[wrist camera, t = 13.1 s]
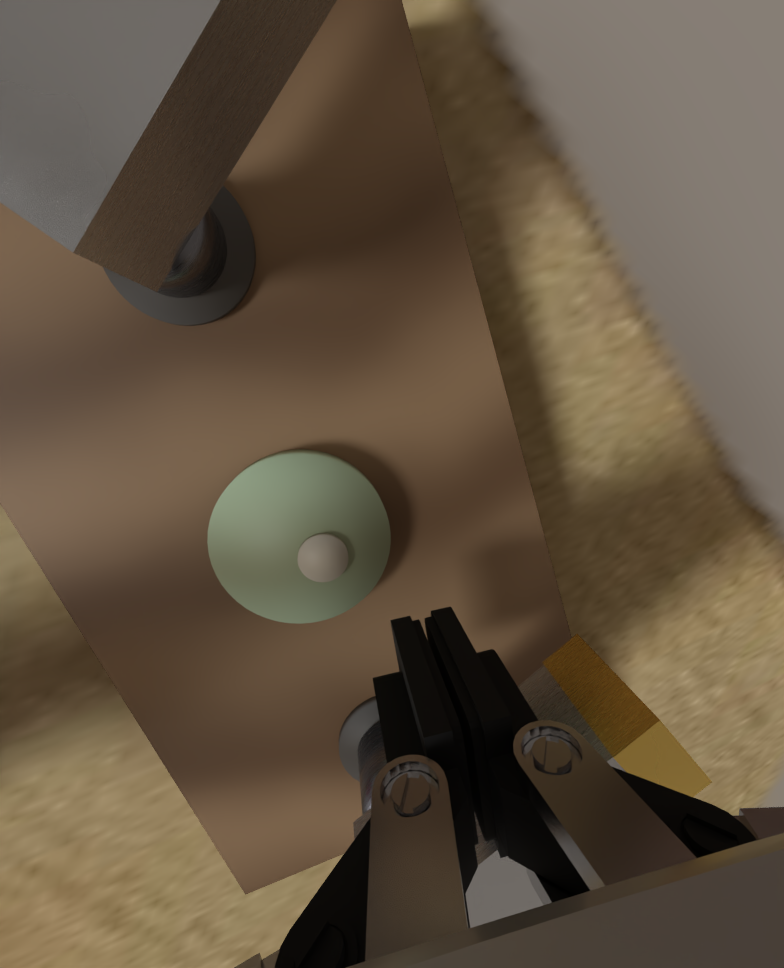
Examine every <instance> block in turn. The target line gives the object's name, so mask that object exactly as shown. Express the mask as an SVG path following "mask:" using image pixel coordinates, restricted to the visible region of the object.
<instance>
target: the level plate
mask: <svg viewBox="0 0 784 968" xmlns="http://www.w3.org/2000/svg"><path fill="white" fill-rule="evenodd" d="M210 207H211V209H212V210H213V212H214V213H215V214H216V216H217V218H218V219H219V221H220V223H221V225H222V228H223V230H224V234H225V237H226V243H227V257H226V262H225V266H224V269H223V272H222V273H221V275H220V277H219V278H218V280H217V281H216V283H215V284H214V285H213V286H212V287H210V288H209V289H208V290H206V291H205V292H203V293H201V294H199V295H196V296H192V297H187V298H174V297H169V296H165V295H162V294H159V293H157V292H155V291H153V290H151V289H149V288H147V287H145V286H142V285H140V284H138V283H136V282H134V281H132V280H130V279H127V278H125V277H123V276H121V275H119V274H117V273H115V272H113V271H110V270H108V269H106V268H104V267H102V266H100V265H98V264H96V263H94V262H92V261H90V260H88V259H85V258H83V257H81V256H79V255H77V254H75V253H73V252H71V251H70V250H68V249H67V248H65V247H64V246H63V245H61V244H60V243H58V242H57V241H55V240H54V239H52V238H51V237H50V236H48V235H47V234H45V233H44V232H42V231H41V230H39V229H38V228H37V227H35V226H34V225H32V224H31V223H29V222H28V221H26V220H25V219H23V218H22V217H21V216H19V215H18V214H16V213H15V212H13V211H12V210H10V209H9V208H8V207H6V206H5V205H3V204H2V203H0V504H1V506H2V507H3V509H4V510H5V512H6V513H7V515H8V517H9V518H10V520H11V521H12V523H13V525H14V526H15V528H16V529H17V531H18V533H19V534H20V536H21V537H22V539H23V541H24V542H25V544H26V545H27V547H28V549H29V550H30V552H31V553H32V555H33V557H34V558H35V560H36V561H37V563H38V564H39V566H40V568H41V569H42V571H43V572H44V574H45V576H46V577H47V579H48V580H49V582H50V584H51V585H52V587H53V588H54V590H55V592H56V593H57V595H58V596H59V598H60V600H61V601H62V603H63V604H64V606H65V608H66V609H67V611H68V612H69V614H70V615H71V617H72V619H73V620H74V622H75V623H76V625H77V627H78V628H79V630H80V631H81V633H82V635H83V636H84V638H85V639H86V641H87V643H88V644H89V646H90V647H91V649H92V651H93V652H94V654H95V655H96V657H97V659H98V660H99V662H100V663H101V665H102V666H103V668H104V670H105V671H106V673H107V674H108V676H109V678H110V679H111V681H112V682H113V684H114V686H115V687H116V689H117V690H118V692H119V694H120V695H121V697H122V698H123V700H124V702H125V703H126V705H127V706H128V708H129V709H130V711H131V713H132V714H133V716H134V717H135V719H136V721H137V722H138V724H139V725H140V727H141V729H142V730H143V732H144V733H145V735H146V737H147V738H148V740H149V741H150V743H151V745H152V746H153V748H154V749H155V751H156V753H157V754H158V756H159V757H160V759H161V760H162V762H163V764H164V765H165V767H166V768H167V770H168V772H169V773H170V775H171V776H172V778H173V780H174V781H175V783H176V784H177V786H178V788H179V789H180V791H181V792H182V794H183V796H184V797H185V799H186V800H187V802H188V804H189V805H190V807H191V808H192V810H193V811H194V813H195V815H196V816H197V818H198V819H199V821H200V823H201V824H202V826H203V827H204V829H205V831H206V832H207V834H208V835H209V837H210V839H211V840H212V842H213V843H214V845H215V847H216V848H217V850H218V851H219V853H220V855H221V856H222V858H223V859H224V861H225V862H226V864H227V866H228V867H229V869H230V870H231V872H232V874H233V875H234V877H235V878H236V880H237V882H238V883H239V885H240V886H241V888H242V890H243V891H244V893H245V894H248V893H250V892H253V891H255V890H257V889H260V888H262V887H265V886H267V885H269V884H272V883H274V882H277V881H279V880H281V879H284V878H286V877H289V876H291V875H294V874H296V873H298V872H301V871H303V870H306V869H308V868H310V867H313V866H315V865H318V864H320V863H322V862H325V861H327V860H330V859H332V858H334V857H337V856H339V855H342V854H344V853H345V852H346V851H347V849H348V848H349V847H350V845H351V844H352V842H353V841H354V827H353V822H354V821H356V820H357V819H358V818H359V817H360V816H362V804H361V792H360V780H359V767H358V755H357V750H358V745H359V742H360V740H361V738H362V736H363V735H364V734H365V733H366V731H367V730H368V729H370V728H371V727H372V726H374V725H375V724H377V723H379V722H380V719H379V714H378V708H377V702H376V696H375V690H374V684H373V678H374V677H378V676H382V675H387V674H391V673H395V672H399V666H398V661H397V655H396V650H395V644H394V639H393V634H392V628H391V622H390V620H393V619H397V618H402V617H406V616H411V619H412V621H414V620H418V619H419V620H420V622H421V625H422V627H423V630H424V633H425V635H426V638H427V634H426V628H425V620H424V619H425V618H427V617H431V611H432V610H437V609H441V608H445V607H452V609H453V611H454V613H455V614H456V616H457V618H458V620H459V622H460V623H461V625H462V627H463V629H464V631H465V633H466V634H467V636H468V638H469V640H470V642H471V643H472V645H473V647H474V649H475V651H476V653H477V652H482V651H486V650H490V649H493V650H495V651H496V653H497V654H498V656H499V657H500V659H501V661H502V662H503V664H504V665H505V667H506V669H507V670H508V672H509V673H510V675H511V677H512V678H513V680H514V681H515V683H516V685H517V686H519V685H520V684H522V683H523V682H524V681H525V680H526V679H528V678H529V677H530V676H531V675H532V674H534V673H535V672H536V671H537V670H538V669H540V668H541V667H542V666H543V665H544V664H543V663H542V662H543V661H545V660H546V659H547V658H548V657H549V656H551V655H552V654H553V653H554V652H556V651H557V650H558V649H559V648H560V647H562V646H563V645H564V644H565V643H566V642H568V641H569V640H570V639H571V634H570V630H569V626H568V623H567V619H566V615H565V611H564V608H563V604H562V600H561V596H560V593H559V589H558V585H557V581H556V578H555V574H554V570H553V566H552V563H551V559H550V555H549V551H548V548H547V544H546V540H545V536H544V533H543V529H542V525H541V521H540V518H539V514H538V510H537V506H536V503H535V499H534V495H533V491H532V488H531V484H530V480H529V476H528V473H527V469H526V465H525V461H524V458H523V454H522V450H521V446H520V443H519V439H518V435H517V431H516V428H515V424H514V420H513V416H512V413H511V409H510V405H509V401H508V397H507V394H506V390H505V386H504V382H503V379H502V375H501V371H500V367H499V364H498V360H497V356H496V352H495V349H494V345H493V341H492V337H491V334H490V330H489V326H488V322H487V319H486V315H485V311H484V307H483V304H482V300H481V296H480V292H479V289H478V285H477V281H476V277H475V274H474V270H473V266H472V262H471V259H470V255H469V251H468V247H467V244H466V240H465V236H464V232H463V229H462V225H461V221H460V217H459V214H458V210H457V206H456V202H455V199H454V195H453V191H452V187H451V184H450V180H449V176H448V172H447V169H446V165H445V161H444V157H443V154H442V150H441V146H440V142H439V139H438V135H437V131H436V127H435V124H434V120H433V116H432V112H431V109H430V105H429V101H428V97H427V94H426V90H425V86H424V82H423V79H422V75H421V71H420V67H419V64H418V60H417V56H416V52H415V49H414V45H413V41H412V37H411V34H410V30H409V26H408V22H407V19H406V15H405V11H404V7H403V4H402V0H337V1H336V3H335V4H334V6H333V8H332V9H331V11H330V13H329V14H328V16H327V17H326V19H325V21H324V22H323V24H322V26H321V27H320V29H319V30H318V32H317V34H316V35H315V37H314V38H313V40H312V42H311V43H310V45H309V47H308V48H307V50H306V51H305V53H304V55H303V56H302V58H301V60H300V61H299V63H298V64H297V66H296V68H295V69H294V71H293V73H292V74H291V76H290V77H289V79H288V81H287V82H286V84H285V86H284V87H283V89H282V90H281V92H280V94H279V95H278V97H277V99H276V100H275V102H274V103H273V105H272V107H271V108H270V110H269V111H268V113H267V115H266V116H265V118H264V120H263V121H262V123H261V124H260V126H259V128H258V129H257V131H256V133H255V134H254V136H253V137H252V139H251V141H250V142H249V144H248V146H247V147H246V149H245V150H244V152H243V154H242V155H241V157H240V159H239V160H238V162H237V163H236V165H235V167H234V168H233V170H232V171H231V173H230V175H229V176H228V178H227V180H226V181H225V183H224V184H223V186H222V188H221V189H220V191H219V193H218V194H217V196H216V197H215V199H214V201H213V202H212V204H211V206H210Z"/></svg>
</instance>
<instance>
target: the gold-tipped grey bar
mask: <svg viewBox="0 0 784 968" xmlns="http://www.w3.org/2000/svg"><path fill="white" fill-rule="evenodd" d="M336 1H337V0H0V203H2V204H3V205H5V206H6V207H8V208H9V209H10V210H12V211H13V212H15V213H16V214H18V215H19V216H21V217H22V218H23V219H25V220H26V221H28V222H29V223H31V224H32V225H34V226H35V227H37V228H38V229H39V230H41V231H42V232H44V233H45V234H47V235H48V236H50V237H51V238H52V239H54V240H55V241H57V242H58V243H60V244H61V245H63V246H64V247H65V248H67V249H68V250H70V251H71V252H73V253H75V254H77V255H79V256H81V257H83V258H85V259H88V260H90V261H92V262H94V263H96V264H98V265H100V266H102V267H104V268H106V269H108V270H110V271H113V272H115V273H117V274H119V275H121V276H123V277H125V278H127V279H130V280H132V281H134V282H136V283H138V284H140V285H142V286H145V287H147V288H149V289H151V290H153V291H155V292H157V293H159V294H162V295H165V296H169V297H174V298H187V297H192V296H196V295H199V294H201V293H203V292H205V291H206V290H208V289H209V288H210V287H212V286H213V285H214V284H215V283H216V281H217V280H218V278H219V277H220V275H221V273H222V272H223V269H224V266H225V262H226V257H227V243H226V237H225V234H224V230H223V228H222V225H221V223H220V221H219V219H218V218H217V216H216V214H215V213H214V212H213V210H212V209H211V207H210V206H211V204H212V202H213V201H214V199H215V197H216V196H217V194H218V193H219V191H220V189H221V188H222V186H223V184H224V183H225V181H226V180H227V178H228V176H229V175H230V173H231V171H232V170H233V168H234V167H235V165H236V163H237V162H238V160H239V159H240V157H241V155H242V154H243V152H244V150H245V149H246V147H247V146H248V144H249V142H250V141H251V139H252V137H253V136H254V134H255V133H256V131H257V129H258V128H259V126H260V124H261V123H262V121H263V120H264V118H265V116H266V115H267V113H268V111H269V110H270V108H271V107H272V105H273V103H274V102H275V100H276V99H277V97H278V95H279V94H280V92H281V90H282V89H283V87H284V86H285V84H286V82H287V81H288V79H289V77H290V76H291V74H292V73H293V71H294V69H295V68H296V66H297V64H298V63H299V61H300V60H301V58H302V56H303V55H304V53H305V51H306V50H307V48H308V47H309V45H310V43H311V42H312V40H313V38H314V37H315V35H316V34H317V32H318V30H319V29H320V27H321V26H322V24H323V22H324V21H325V19H326V17H327V16H328V14H329V13H330V11H331V9H332V8H333V6H334V4H335V3H336Z"/></svg>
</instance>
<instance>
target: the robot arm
mask: <svg viewBox="0 0 784 968" xmlns="http://www.w3.org/2000/svg"><path fill="white" fill-rule="evenodd" d="M424 620H425V628H426V634H427V638H426V635H425V633H424V630H423V627H422V625H421V622H420V620H419V619H418V620H414V621H412V619H411V616H406V617H402V618H397V619H393V620H390V622H391V628H392V634H393V639H394V644H395V650H396V655H397V661H398V666H399V672H395V673H391V674H387V675H382V676H378V677H374V678H373V684H374V690H375V696H376V702H377V708H378V714H379V719H380V725H381V731H382V737H383V743H384V749H385V755H386V761H387V764H386V765H385V766H384V767H383V768H382V769H381V770H380V771H379V773H378V775H377V777H376V779H375V781H374V784H373V789H372V800H371V817H370V819H369V820H368V821H367V823H366V824H365V826H364V827H363V828H362V830H361V831H360V833H359V834H358V835H357V837H356V838H355V840H354V841H353V842H352V844H351V845H350V847H349V848H348V849H347V851H346V852H345V854H344V855H343V856H342V858H341V859H340V861H339V862H338V863H337V865H336V866H335V868H334V869H333V870H332V872H331V873H330V875H329V876H328V877H327V879H326V880H325V882H324V883H323V884H322V886H321V887H320V889H319V890H318V891H317V893H316V894H315V896H314V897H313V898H312V900H311V901H310V903H309V904H308V905H307V907H306V908H305V910H304V911H303V912H302V914H301V915H300V917H299V918H298V919H297V921H296V922H295V924H294V925H293V926H292V928H291V929H290V931H289V933H288V934H287V936H286V938H285V940H284V942H283V943H282V945H281V947H280V949H279V950H278V951H276V952H274V953H273V954H271V955H269V956H268V957H266V958H264V959H263V960H262V958H261V955H260V953H258V954H257V955H255V956H253V957H251V958H250V959H248V960H246V961H245V962H243V963H241V964H240V965H238V966H236V967H234V968H784V807H769V808H740V810H739V816H732V815H731V814H729V813H728V812H726V811H724V810H722V809H720V808H718V807H716V806H714V805H712V804H709V803H707V802H704V801H701V800H699V799H696V798H693V797H691V796H688V795H685V794H683V793H680V792H678V791H675V790H672V789H670V788H667V787H664V786H662V785H659V784H657V783H654V782H651V781H649V780H646V779H643V778H641V777H638V776H635V775H633V774H630V773H628V772H625V771H622V770H620V769H617V768H614V767H612V766H610V765H609V764H608V763H607V762H606V760H605V759H604V758H603V757H602V756H601V755H600V754H599V753H598V752H597V751H596V750H595V749H594V748H593V747H592V746H591V744H590V743H589V742H588V741H587V740H586V739H585V738H584V737H583V736H582V735H581V734H580V733H578V732H577V731H576V730H575V729H574V728H572V727H570V726H568V725H566V724H564V723H561V722H556V721H552V720H538V719H537V717H536V715H535V714H534V712H533V710H532V709H531V707H530V706H529V704H528V702H527V701H526V699H525V698H524V696H523V694H522V693H521V691H520V690H519V688H518V686H517V685H516V683H515V681H514V680H513V678H512V677H511V675H510V673H509V672H508V670H507V669H506V667H505V665H504V664H503V662H502V661H501V659H500V657H499V656H498V654H497V653H496V651H495V650H493V649H490V650H486V651H482V652H477V653H476V651H475V649H474V647H473V645H472V643H471V642H470V640H469V638H468V636H467V634H466V633H465V631H464V629H463V627H462V625H461V623H460V622H459V620H458V618H457V616H456V614H455V613H454V611H453V609H452V607H445V608H441V609H437V610H432V611H431V617H427V618H425V619H424ZM474 812H475V814H474ZM475 815H476V818H477V821H478V823H479V826H480V829H481V832H482V835H483V838H484V840H485V841H486V842H488V841H491V840H494V842H495V844H496V847H497V850H498V852H499V855H500V858H503V857H507V856H508V858H510V859H512V860H513V861H515V862H517V863H519V864H521V865H522V866H524V867H526V871H527V874H528V877H529V879H530V882H531V884H532V886H533V888H534V889H535V891H536V893H537V895H538V897H539V898H540V900H541V902H542V904H543V906H540V907H536V908H533V909H530V910H527V911H524V912H520V913H517V914H514V915H511V916H508V917H504V918H501V919H498V920H495V921H491V922H488V923H485V924H482V925H479V926H475V927H472V928H471V927H470V920H469V913H468V906H467V900H466V892H467V889H468V887H469V885H470V883H471V881H472V879H473V876H474V874H475V872H476V870H477V868H478V863H477V856H476V849H475V845H477V844H478V843H479V842H478V835H477V828H476V821H475Z"/></svg>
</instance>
